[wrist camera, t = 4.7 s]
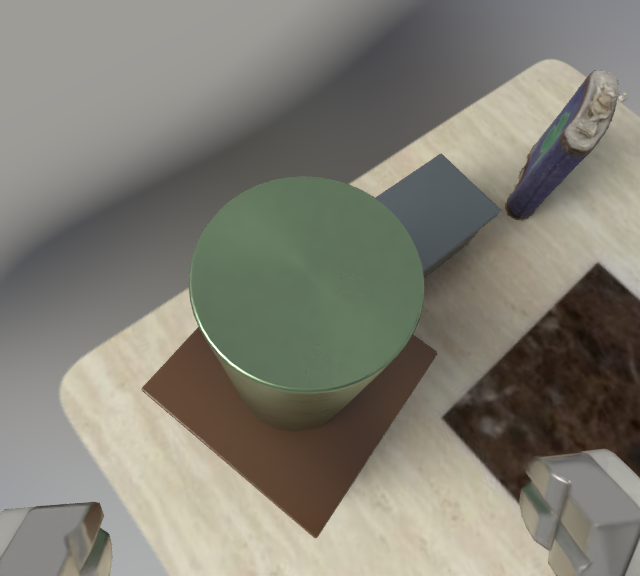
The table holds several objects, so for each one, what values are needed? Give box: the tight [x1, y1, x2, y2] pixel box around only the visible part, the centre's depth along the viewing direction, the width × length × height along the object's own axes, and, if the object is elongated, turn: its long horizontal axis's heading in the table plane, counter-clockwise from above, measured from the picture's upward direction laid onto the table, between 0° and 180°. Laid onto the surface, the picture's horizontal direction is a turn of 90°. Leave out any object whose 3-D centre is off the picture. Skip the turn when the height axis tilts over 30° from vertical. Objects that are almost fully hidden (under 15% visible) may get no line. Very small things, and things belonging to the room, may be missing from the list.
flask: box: [505, 70, 628, 220], centre depth 35 cm, size 9×3×11 cm, turn 150°
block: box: [142, 327, 437, 538], centre depth 24 cm, size 9×9×13 cm
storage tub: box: [376, 154, 501, 278], centre depth 34 cm, size 10×6×5 cm
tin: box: [189, 177, 424, 432], centre depth 14 cm, size 5×5×10 cm
